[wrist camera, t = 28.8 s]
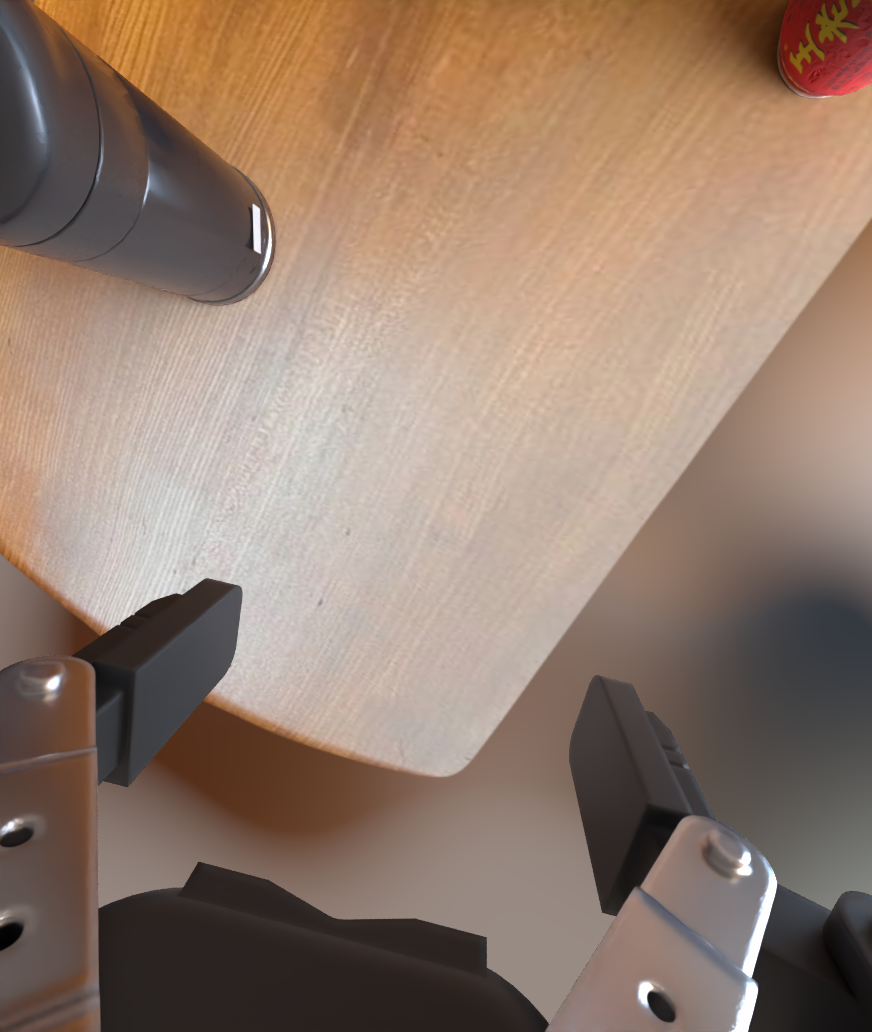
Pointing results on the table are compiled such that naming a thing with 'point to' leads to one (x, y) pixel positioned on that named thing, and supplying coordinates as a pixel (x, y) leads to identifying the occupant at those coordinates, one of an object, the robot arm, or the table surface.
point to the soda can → (826, 47)
